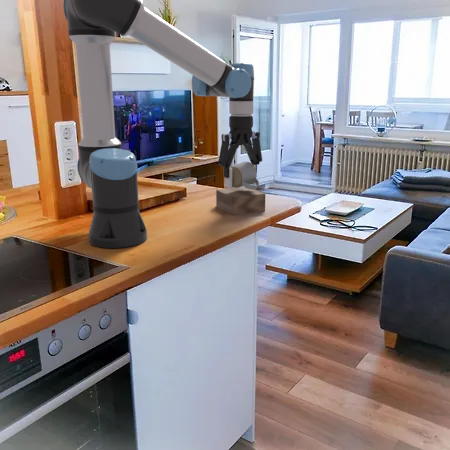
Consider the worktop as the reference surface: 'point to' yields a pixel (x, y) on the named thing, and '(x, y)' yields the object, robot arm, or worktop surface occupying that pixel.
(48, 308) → the worktop surface
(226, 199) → the walnut box
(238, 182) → the ceramic mug
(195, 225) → the worktop surface
